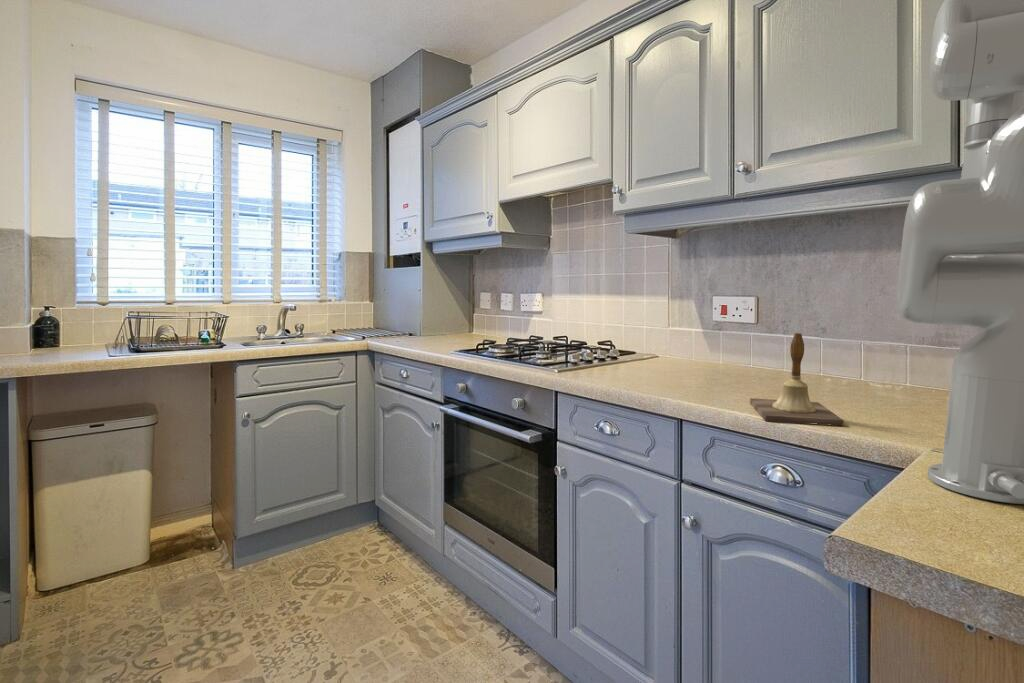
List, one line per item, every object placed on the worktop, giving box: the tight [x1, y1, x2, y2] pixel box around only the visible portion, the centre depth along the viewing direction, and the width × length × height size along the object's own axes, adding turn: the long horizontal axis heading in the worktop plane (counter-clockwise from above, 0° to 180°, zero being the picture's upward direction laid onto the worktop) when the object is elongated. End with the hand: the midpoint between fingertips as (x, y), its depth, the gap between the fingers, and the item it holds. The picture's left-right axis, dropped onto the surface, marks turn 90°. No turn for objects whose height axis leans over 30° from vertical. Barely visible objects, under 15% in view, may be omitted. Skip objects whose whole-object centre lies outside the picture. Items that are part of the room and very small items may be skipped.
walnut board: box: [749, 397, 844, 426], centre depth 116 cm, size 16×14×1 cm
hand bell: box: [772, 332, 816, 413], centre depth 114 cm, size 8×8×16 cm
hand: (981, 235), depth 98 cm, fingers open, 9 cm apart
